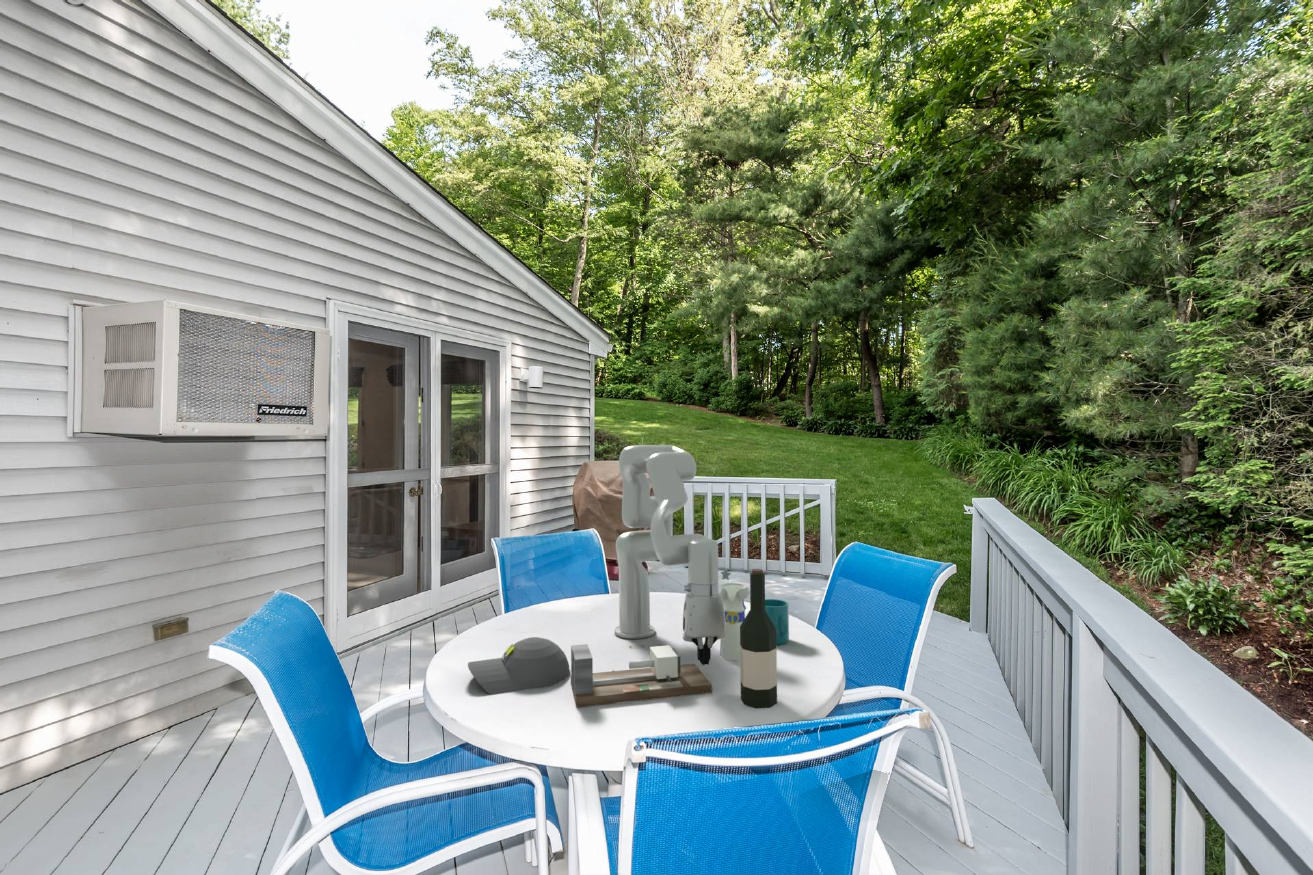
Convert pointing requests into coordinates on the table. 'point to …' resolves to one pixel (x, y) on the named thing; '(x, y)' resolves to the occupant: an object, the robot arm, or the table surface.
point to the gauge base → (628, 682)
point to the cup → (779, 618)
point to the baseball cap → (522, 667)
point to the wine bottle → (758, 650)
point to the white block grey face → (661, 662)
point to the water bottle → (732, 617)
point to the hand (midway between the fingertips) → (704, 662)
